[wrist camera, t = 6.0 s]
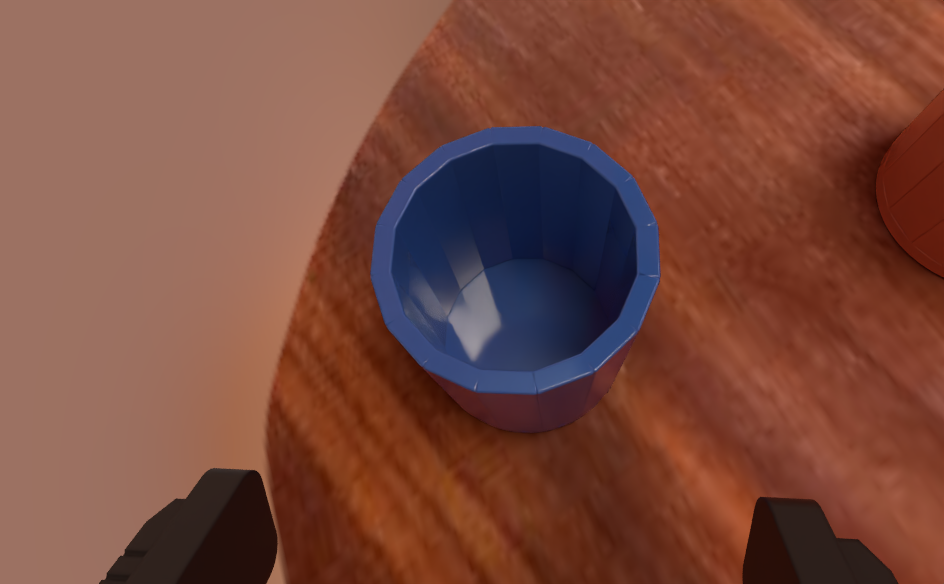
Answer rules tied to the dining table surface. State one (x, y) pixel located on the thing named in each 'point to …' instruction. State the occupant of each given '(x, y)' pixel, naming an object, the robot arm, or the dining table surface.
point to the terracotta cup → (916, 187)
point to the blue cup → (517, 273)
